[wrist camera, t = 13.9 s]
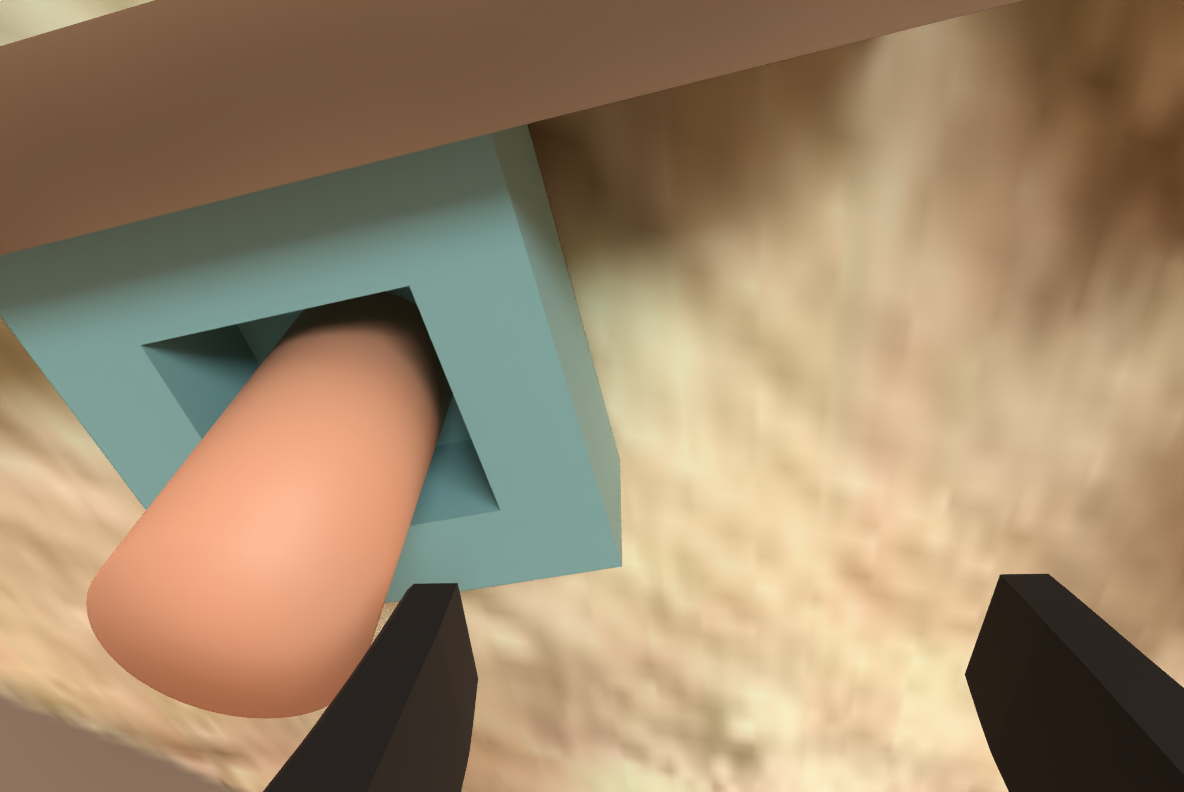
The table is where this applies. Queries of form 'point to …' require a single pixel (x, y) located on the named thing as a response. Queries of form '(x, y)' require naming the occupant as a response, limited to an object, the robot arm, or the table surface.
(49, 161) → the backstop wall
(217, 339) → the sliding block
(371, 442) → the dowel
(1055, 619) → the robot arm
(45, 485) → the table surface
